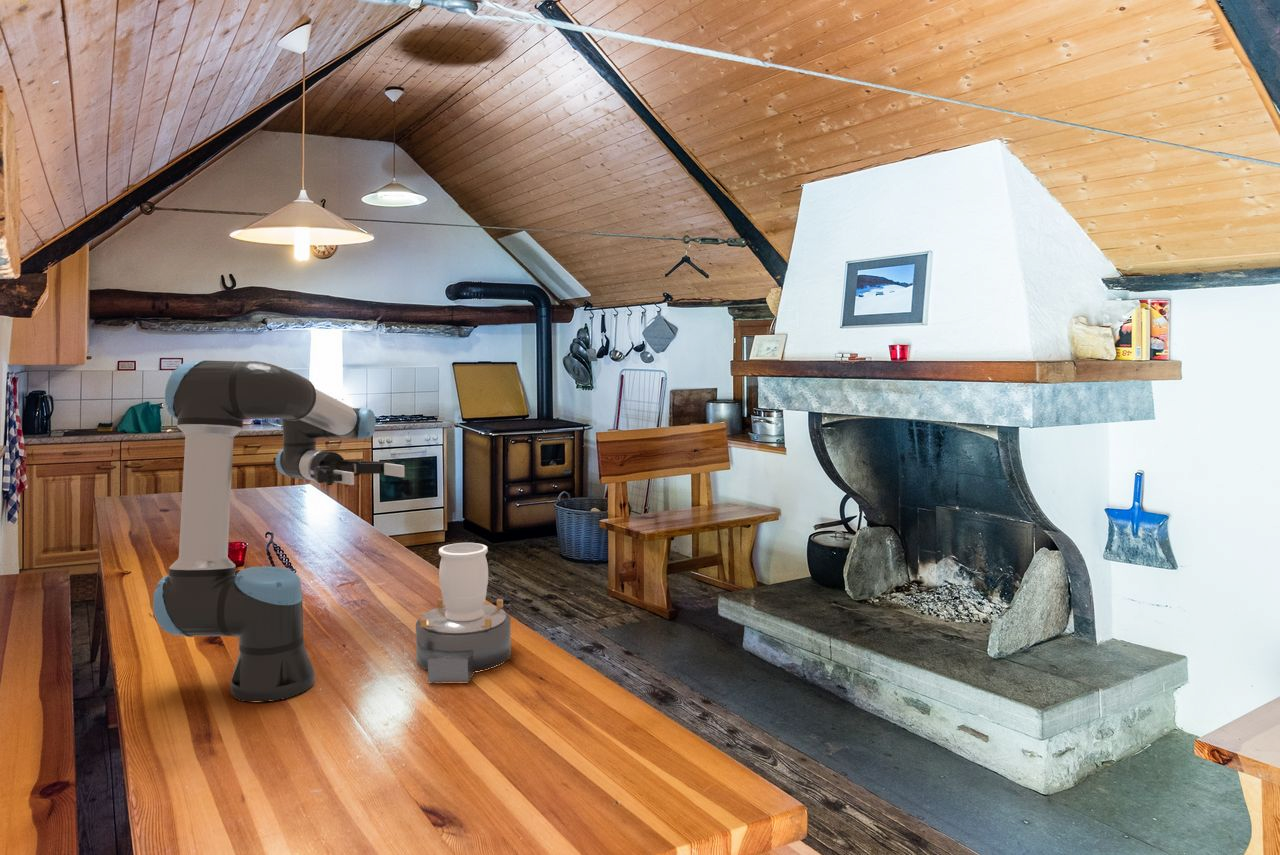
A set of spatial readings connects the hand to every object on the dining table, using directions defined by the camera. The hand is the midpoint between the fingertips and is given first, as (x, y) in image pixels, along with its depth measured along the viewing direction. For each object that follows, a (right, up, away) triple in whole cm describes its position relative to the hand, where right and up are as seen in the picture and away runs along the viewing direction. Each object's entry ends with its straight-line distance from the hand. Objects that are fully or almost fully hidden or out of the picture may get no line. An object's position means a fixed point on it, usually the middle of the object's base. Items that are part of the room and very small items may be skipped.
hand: (378, 475), depth 190 cm
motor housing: (+21, -39, -10) cm, 45 cm away
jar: (+21, -30, -8) cm, 38 cm away
